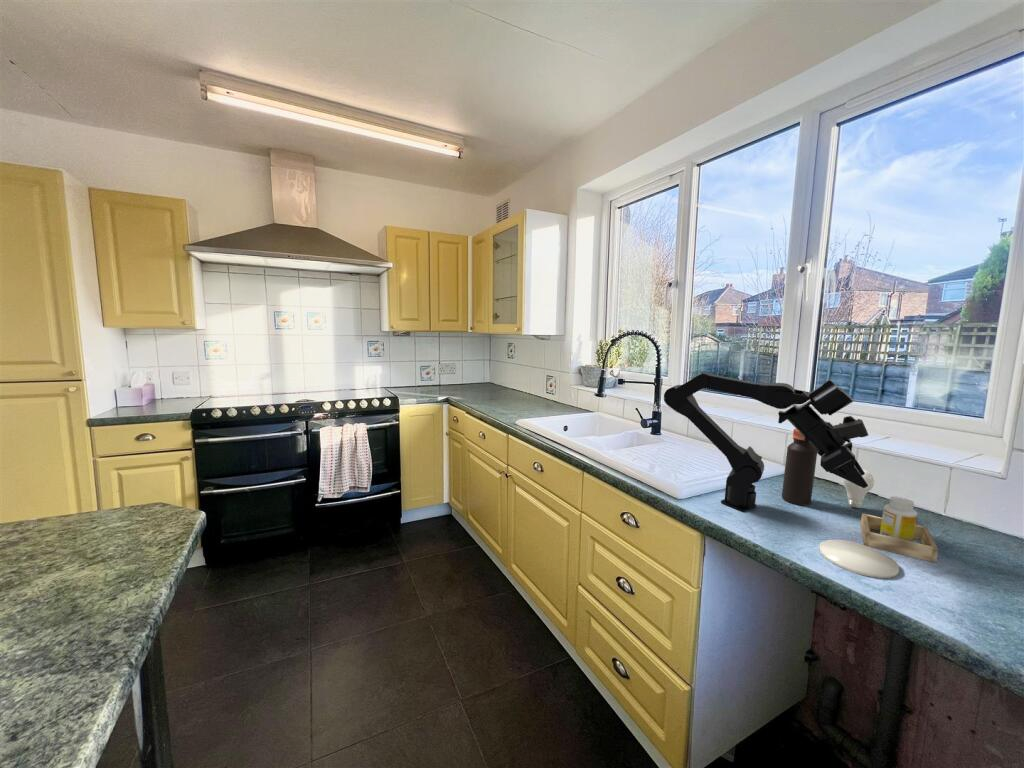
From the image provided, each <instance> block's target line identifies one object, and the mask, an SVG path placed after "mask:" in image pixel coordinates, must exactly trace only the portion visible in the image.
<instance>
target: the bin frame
mask: <svg viewBox="0 0 1024 768" xmlns="http://www.w3.org/2000/svg"><path fill="white" fill-rule="evenodd" d="M860 519H861V520H860V530H861V535H862V541H863V545H865V546H868V547H871V548H874V549H875V548H876V549H880V550H883V551H888V552H892V553H895V554H900V555H904V556H908V557H911V558H915V559H920V560H923V561H927V562H931V563H935V564H936V563H937V560H938V559H937V558H938V553H939V548H938V546H937V544H936V542H935V540H934V538H933V535H932V534H931V532H930V530H929V528H928V527H927V526H923V525H918V524H916V525H915V531H914V537H913V540H914V539H916V540H919V541H921V543H919V542H914V541H913V542H911V541H907V540H902V539H898V538H894V537H889V536H885V535H881V534H880V533H877V532H876V533H875V532H873V531H872V532H871V530H874V531H875V530H876V531H880V530H881V523H882V517H880V516H875V515H872V514H867V513H861V518H860Z"/></svg>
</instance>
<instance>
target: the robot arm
mask: <svg viewBox="0 0 1024 768" xmlns="http://www.w3.org/2000/svg"><path fill="white" fill-rule="evenodd" d="M702 389H709V390H714V391H718V392H722V393H723V392H724V393H727V394H732V395H737V396H740V397H742V396H743V397H747V398H751V399H753V400H756V401H758V402H760V403H762V404H765V405H767V406H770V407H771V408H774V409H778V410H779V411H778V412H777V413H778V421H777V423H778V424H782V423H784V422H786V421H788V422H789V423H790V424H791V425H792V426H793V427H794V429H797V430H798V431H799V432H800V433H801V434H802V435H803V436H804V440H805V441H806V442H809V443H810V444H811V445H812V446H813V447H814V448H815V449H816V450H817V455H818V456H819V457H820V464H819V465H820V467H821V468H822V469H823V470H824V471H825V472H826V473H830V474H833V475H835V476H837V477H839V478H841V479H842V478H844V479H846V480H848V481H850V482H852V483H854V484H856V485H858V486H860V487H862V488H865V487H867V486H868V484H867V483H866V481H865V480H864V478H863V477H862V475H864V474H865V473H864V471H863V469H864V468H862V466H861V465H860V464H859V462H858V460H857V458H856V455H855V454H854V452H853V450H852V449H853V443H852V442H853V441H852V439H855V438H856V439H857V438H865V437H867V436H869V433H868V430H867V428H866V426H865V422H864V421H863V419H860V418H857V419H855V418H854V417H853V416H852V415H848V416H843V421H842V422H839V424H835V425H833V424H832V423H831V422H829V421H825V419H824V418H822V417H821V416H820V415H828V416H832V415H833V414H835V413H837V412H839V411H840V410H842V409H844V408H845V407H847V406H849V405H850V404H852V403H854V399H853V398H852V397H851V396H850V395H849V394H848V393H847V392H846V391H845V390H844V389H843V388H842V387H839V386H838V385H837V384H836V383H835V382H834V381H832V379H828V380H825V381H824V382H823V383H822V384H821V385H819V386H818V387H817V388H815V389H813V390H812V391H810V392H809V391H806V390H801V389H800V390H799V389H795V388H794V387H793V386H792V385H791V384H789V383H785V382H756V381H755V382H754V381H748V380H743V379H739V378H734V377H727V376H724V375H723V376H722V375H717V374H712V373H710V372H707V371H706V372H705V371H703V372H700V373H699V374H696V376H695V377H693V378H691V379H690V380H688V381H687V382H684V383H683V384H677V385H674V386H671V387H670V388H668V389H666V390H665V392H664V394H663V402H664V403H665V404H666V405H667V406H668V407H669V408H671V409H672V410H673V411H675V412H676V413H677V414H680V415H682V416H683V417H684V418H685V417H686V418H687V419H688V420H689V421H690V422H691V423H692V424H693V425H694V426H695V427H696V428H697V429H698V430H699V431H700V432H701V433H702V434H703V435H704V436H705V437H706V438H707V439H708V440H709V441H710V442H711V443H712V444H713V446H715V447H716V449H718V450H719V451H720V452H721V453H722V454H723V455H724V456H725V457H726V459H727V461H728V463H729V465H730V467H731V469H730V470H731V471H730V472H729V474H727V476H726V480H725V491H724V498H723V499H721V500H720V503H721V504H723V505H726V506H728V507H730V508H734V509H736V510H738V511H740V512H747V511H748V510H751V509H754V508H757V504H756V502H757V501H756V499H757V492H756V485H754V484H755V483H758V482H759V481H760V480H761V478H762V476H763V473H764V471H765V463H764V461H763V460H762V458H763V457H762V456H761V455H759V454H758V453H757V452H756V451H755V450H754V448H752V447H751V446H748V448H747V449H746V448H744V447H742V446H740V445H739V444H738V443H737V442H736V441H735V440H734V439H733V438H731V436H730V435H728V433H727V432H725V431H724V430H723V429H722V428H721V427H720V426H719V425H718V424H717V423H716V422H715V420H713V419H712V417H710V416H709V415H708V414H707V413H706V412H705V410H703V408H701V407H700V406H699V403H698V401H697V400H696V398H695V396H694V394H695V393H697V392H699V391H700V390H702ZM797 405H800V406H797ZM810 405H812V406H810ZM812 407H813V408H814V409H815V410H816V411H815V410H814V409H813V408H812ZM787 408H789V409H787ZM785 409H787V410H785ZM782 410H783V411H782ZM784 410H785V411H784ZM817 412H818V413H819V414H820V415H819V414H818V413H817Z"/></svg>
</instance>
